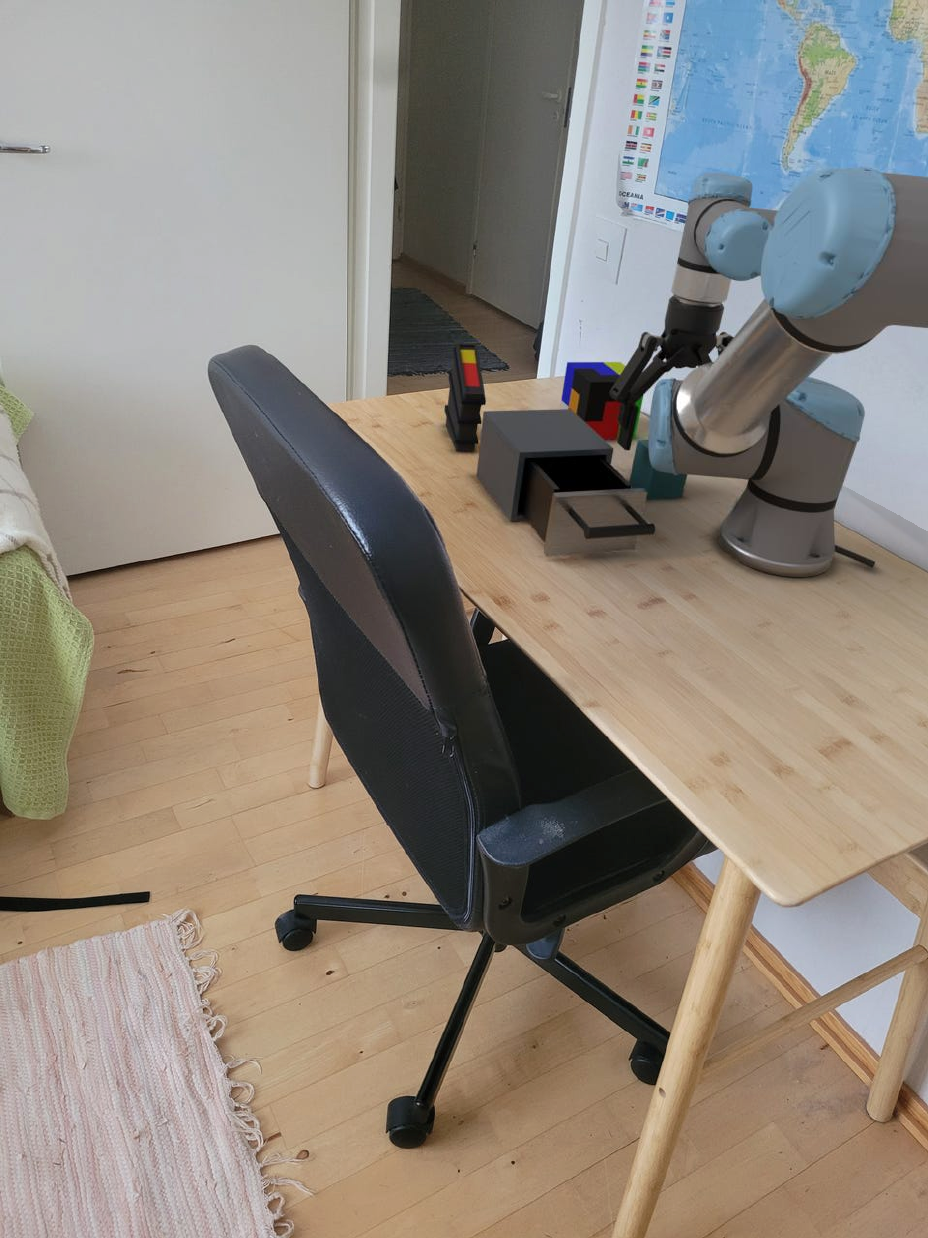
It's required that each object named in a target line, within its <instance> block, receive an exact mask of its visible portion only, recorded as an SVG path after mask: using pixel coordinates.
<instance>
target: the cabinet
mask: <svg viewBox="0 0 928 1238" xmlns="http://www.w3.org/2000/svg"><path fill="white" fill-rule="evenodd" d="M482 413H483V414H482V422H481V433H480V440H479V441H480V442H479V450H478V458H477V467H476V478H477V480H478V481H479V483H481V486H483V488H484V489H485V491H486V492H487V493H488V495H489V496H490V497H491V498H492V499H493V501H494V502H495V504H496V505H497V506H498V507H499V509H500V510H501V512H502V513H503V514H504V516H505V517H506V518H507V520H508V521H509V522H510V523H515V522H516V523H517V522H528V521H527V520H526V518H525V517H524V516H523V515H522V513H521V512H520V511H519V510H518V505H519V498H520V491H521V484H522V476H523V469H524V462H525V458H541V457H565V456H590V455H601V456H602V457H603V458H604V459H605V460H606V461H607V462H608V463H609V464H610V465H611V466H612V460H613V454H614V447H612V446H611V444H610V443H608V442H607V441H606V440H604V439H603V438H602V437H600V436H599V435H598V434H597V433H596V432H595V431H594V430H593V429H592V428H591V427H590V426H589V425H587V424H586V423H585V422H584V421H583V420H582V419H581V418H580V417H579V416H578V415H577V414H575V413H574V412H573V411H572V410H571V409H561V410H560V409H529V410H528V409H526V410H520V409H519V410H488V411H487V410H484V411H483V412H482Z"/></svg>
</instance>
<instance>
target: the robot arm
mask: <svg viewBox="0 0 928 1238" xmlns="http://www.w3.org/2000/svg"><path fill="white" fill-rule="evenodd" d="M753 186H754V185H753V183H752V181H751V180H749V179H748V178H746V177H742V176H738V175H734V174H726V173H719V172H718V173H716V172H705V173H701V174H699V175H697V177H696V178H695V180H694V183H693V187H692V190H691V193H690V196H689V197H690V198H688V201H687V205H688V207H687V212H686V217H685V222H684V225H683V231H682V237H681V241H680V246H679V251H678V256H677V260H676V267H675V271H674V276H673V281H672V286H671V290H670V292H671V293H672V296H671V297H669V298H668V303H667V306H666V313H665V318H664V329H663V331H662V333H661V335H655V334H651V333H649V332H648V331H644V332H642V334H641V335H640V338H639V343H638V346H637V348H636V350H635V351H634V353H633V354H632V356H631V357H630V358H629V360H628V362H627V363H626V365H625V366H626V367H625V368H624V370H623V371H622V373H621V374H620V376H619V378H618V379H617V381H616V382H615V384H614V385H613V387H612V388H611V390H610V392H609V394H610V396H611V397H612V398H614V399H615V400H616V401H617V402H619V403H620V408H619V414H618V418H617V422H618V424H619V425H620V426H621V427H620V432H619V437H618V439H617V445H619V447H621V448H622V449H623V450H625V451H631V448H632V443H633V439H632V438H633V433H634V429H635V424H636V419H637V414H638V409H639V407H638V406H637V405H635V403H636V402H637V401H638V400H639V399H640V398H641V397H642V396H643V397H644V395H645V394H646V393H647V392H648V391H649V390H650V389H651V388H652V387H653V386H654V385H655V384H656V385H655V387H654V390H653V394H652V398H651V404H650V405H651V406H650V412H649V422H648V423H649V424H648V440H649V458H650V462H651V465H652V467H653V468H654V469H655V470H657V471H660V472H666V473H671V474H674V475H678V474H687V475H688V476H689V475H690V476H703V477H715V478H727V479H738V480H747V483H746V487H745V489H744V490H743V492H742V494H741V495H740V497H737V499H736V500H735V501H734V503H733V504H732V506H731V510H730V511H729V512H728V514H727V515H726V517H725V518H724V520H723V521H722V522H721V526H720V529H719V534H718V544H719V545H720V547H721V549H722V550H723V551H724V552H725V553H726V554H728V555H729V556H730V557H731V558H733V559H734V560H736V561H738V562H739V563H741V564H743V565H745V566H747V567H749V568H752V569H755V570H758V571H761V572H764V573H767V574H771V575H775V576H780V577H781V576H783V577H791V578H807V577H813V576H817V575H820V574H823V573H825V572H827V571H828V570H829V569H830V568H831V564H832V562H833V559H834V556H835V553H836V554H838V555H841V556H844V557H846V558H848V559H851V560H853V561H856V562H858V563H861V564H863V565H865V566H868V567H870V568H874V566H875V565H876V561H875V560H873V559H870V558H868V557H865V556H863V555H861V554H859V553H856V552H854V551H851V550H848V549H847V548H844V547H841V546H839V545H837V544H836V543H835V541H836V540H835V539H836V538H835V509H836V505H837V502H838V499H839V496H840V493H841V490H842V487H843V485H844V482H845V479H846V476H847V474H848V471H849V468H850V465H851V462H852V459H853V455H854V453H855V450H856V447H857V445H858V443H859V441H861V433H862V428H863V423H864V421H865V416H866V412H865V407H864V405H863V403H862V402H861V401H860V400H859V399H858V398H857V397H856V396H855V395H854V394H852V393H851V392H849V391H847V390H845V389H843V388H841V387H839V386H837V385H835V384H832V383H830V382H827V381H824V380H821V379H818V378H814V377H811V375H812V374H813V373H814V372H815V371H816V370H817V369H818V368H819V367H820V366H821V365H823V364H824V362H826V361H827V360H828V359H829V358H830V357H831V356H832V355H834V354H835V355H838V354H846V353H849V352H853V351H855V350H858V349H860V348H862V347H864V346H865V345H867V344H868V343H870V342H871V341H873V339H875V338H876V337H877V336H878V335H880V333H882V331H883V330H885V329H886V328H887V327H890V326H898V327H899V326H900V327H912V328H921V329H922V328H923V329H928V176H920V175H910V174H900V173H888V172H881V171H879V170H877V169H874V168H872V167H863V166H858V167H857V166H856V167H853V168H836V167H835V168H831V167H829V168H822V169H819V170H817V171H814V172H811V173H810V174H809V175H807V176H805V177H804V178H803V179H801V180H800V181H799V182H798V183H797V184H796V185H794V187H793V188H792V189H791V190H790V191H789V193H788V194H787V195H786V197H785V198H784V199H783V201H782V203H781V204H780V206H779V208H778V209H777V210H776V209H767V208H757V207H751V206H752V195H753V189H754V188H753ZM757 277H760V285H761V291H762V294H763V297H764V299H763V300H762V301H761V303H760V304H759V305H758V306H757V308H755V310H754V311H753V312H752V314H751V315H750V316H749V317H748V319H747V320H746V322H744V324H743V325H742V326H741V328H740V329H738V331H737V333H736V334H735V335H734V336H732V335H731V334H729V333H728V332H726V331H721V332H720V334H719V335H717V332H719V330H720V328H721V323H722V319H723V315H724V313H725V312H724V311H725V306H724V304H723V303H724V302H726V301H727V299H728V297H729V296H728V295H729V291H730V287H731V283H732V281H736V282H745V281H746V282H747V281H751V280H753V279H755V278H757ZM659 347H660V350H659ZM714 349H716V350H717V358H716V359H715V360H714V361H713V360H712V358H711V357H710V354H711V352H712V351H713V350H714ZM658 350H659V351H658ZM654 352H657V353H656V354H655V355H654ZM653 355H654V356H653ZM652 357H653V358H652ZM651 359H652V361H651ZM664 360H665V361H664ZM650 361H651V362H650ZM673 368H674V369H684V368H688V369H693V370H691V372H689V373H688V374H687V375H686V377H685V378H684V379H683V380H680V379H677V378H675V377H670V378H666V379H665V378H663V379H661V378H662V377H663V376H664V375H665V374H667V373H668V372H671V370H672V369H673Z"/></svg>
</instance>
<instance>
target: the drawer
mask: <svg viewBox="0 0 928 1238" xmlns="http://www.w3.org/2000/svg"><path fill="white" fill-rule="evenodd" d="M646 496H647V491H646V490H645V489H644V488H634V487H633V486H632V485H631V484H630V483H629V480H628V479H626V477H624V476H623V474H621V473H620V472H619V471H618V470H617V469H616V468H615V467H614V466H613V465H612V464H611V465H610V464H609V463H608V462H607V461H606V460H605V459H604V458H603V457H602V456H601V455H590V456H565V457H541V458H525V462H524V469H523V476H522V484H521V491H520V498H519V505H518V510H519V511H520V512H521V513H522V515H523V516H524V517H525V518H526V520H527V521H526V522H528V524H529V525H530V526H531V527H532V529H533V530H534V531H535V532H536V534H537V535H538V536H539V538H540V539H541V540H542V541H543V543H544V546H543V554H545V556H546V557H556V556H557V557H559V556H569V555H570V556H571V555H583V554H597V553H609V552H625V551H634V550H636V546H637V541H638V536H639V537H641V536H653V535H655V533H656V529H657V528H656V525H655V524H654V522H649V523H648V521H646V520H645V519H644V517H643V514H644V510H645V504H646V500H647V499H646Z"/></svg>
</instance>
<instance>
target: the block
mask: <svg viewBox="0 0 928 1238" xmlns="http://www.w3.org/2000/svg"><path fill="white" fill-rule="evenodd" d="M636 443H637V444H636V447H635V452H634V457H633V462H632V466H631V470H630V477H629V480H628V482H629V483H630V484H631V485H632V488H633V489H634V488H644V489H645V490H646V491H647V496H646V500H649V501H650V500H664V499H665V500H666V499H680V498H681V499H682V498H683V494H684V490H685V486H686V483H687V478H688V474H678V475H674V474H671V473H666V472H660V471H657V470H655V469H654V468H653V467H652V465H651V462H650V458H649V439H638V440H637V442H636Z"/></svg>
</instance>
